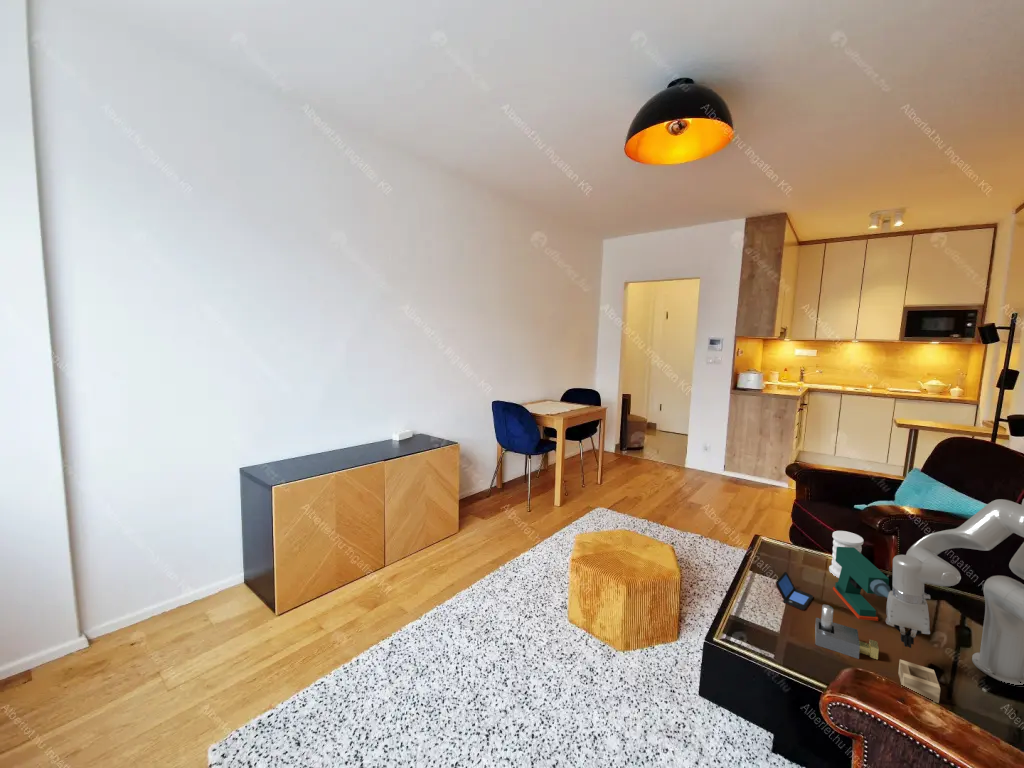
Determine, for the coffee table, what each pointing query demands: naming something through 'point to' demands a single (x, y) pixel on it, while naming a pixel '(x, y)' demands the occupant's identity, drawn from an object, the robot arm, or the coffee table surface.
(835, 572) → the decorative container
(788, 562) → the coffee table surface
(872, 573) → the power tool
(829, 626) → the grey peg
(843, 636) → the socket block
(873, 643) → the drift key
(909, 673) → the beige open box
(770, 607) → the coffee table surface
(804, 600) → the handheld game console
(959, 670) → the coffee table surface
